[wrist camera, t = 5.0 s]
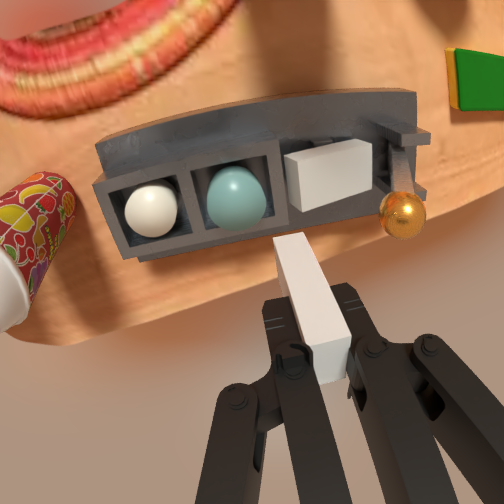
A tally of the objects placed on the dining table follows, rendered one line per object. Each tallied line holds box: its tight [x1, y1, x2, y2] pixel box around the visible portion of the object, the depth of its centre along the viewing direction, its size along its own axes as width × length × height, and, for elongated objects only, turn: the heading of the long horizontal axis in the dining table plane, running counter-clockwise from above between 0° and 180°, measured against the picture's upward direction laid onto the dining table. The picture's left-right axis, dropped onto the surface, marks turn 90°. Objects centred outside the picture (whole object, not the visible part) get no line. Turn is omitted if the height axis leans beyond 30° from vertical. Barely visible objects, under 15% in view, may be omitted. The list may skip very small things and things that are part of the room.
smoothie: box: [0, 171, 76, 333], centre depth 17 cm, size 8×8×20 cm
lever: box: [379, 140, 426, 240], centre depth 20 cm, size 3×3×13 cm
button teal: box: [207, 166, 266, 231], centre depth 21 cm, size 4×4×2 cm
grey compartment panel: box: [92, 88, 431, 262], centre depth 24 cm, size 28×12×7 cm, turn 100°
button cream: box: [125, 178, 179, 237], centre depth 23 cm, size 4×4×2 cm
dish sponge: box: [445, 48, 504, 111], centre depth 22 cm, size 7×14×2 cm, turn 103°
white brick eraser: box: [284, 139, 372, 212], centre depth 23 cm, size 7×4×2 cm, turn 100°
